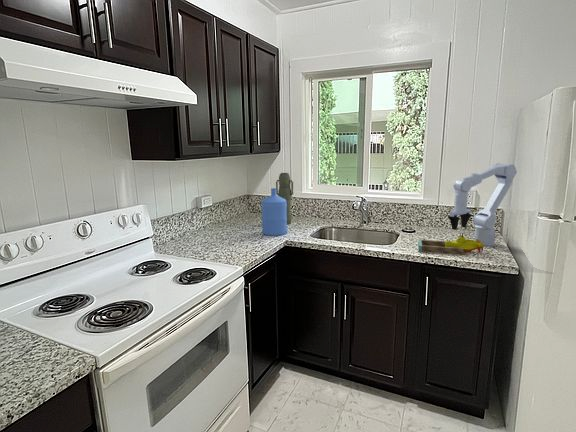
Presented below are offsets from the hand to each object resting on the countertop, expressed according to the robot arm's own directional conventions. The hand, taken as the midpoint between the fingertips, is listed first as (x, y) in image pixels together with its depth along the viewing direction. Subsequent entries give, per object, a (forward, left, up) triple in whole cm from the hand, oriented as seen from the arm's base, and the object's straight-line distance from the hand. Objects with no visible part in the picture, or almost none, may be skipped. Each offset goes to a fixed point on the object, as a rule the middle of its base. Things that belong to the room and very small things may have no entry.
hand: (458, 228), depth 186 cm
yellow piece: (-2, +9, -10) cm, 14 cm away
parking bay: (+9, +9, -10) cm, 16 cm away
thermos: (+106, -26, -10) cm, 110 cm away
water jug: (+104, 0, -10) cm, 105 cm away
